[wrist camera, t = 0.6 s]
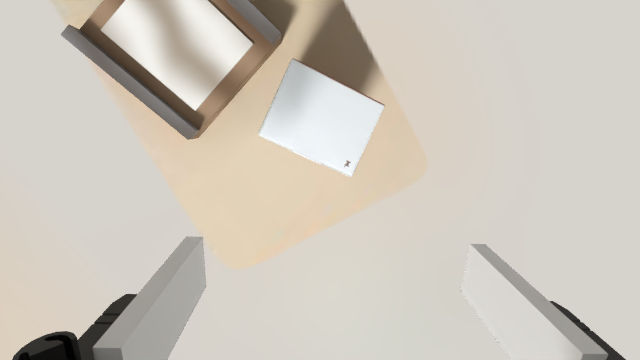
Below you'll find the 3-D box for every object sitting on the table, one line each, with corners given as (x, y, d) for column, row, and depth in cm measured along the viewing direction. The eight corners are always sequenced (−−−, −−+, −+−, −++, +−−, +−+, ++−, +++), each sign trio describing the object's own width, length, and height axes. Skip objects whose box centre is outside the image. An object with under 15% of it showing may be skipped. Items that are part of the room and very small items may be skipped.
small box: (350, 112, 36) (388, 105, 24) (327, 161, 37) (352, 180, 24) (287, 81, 35) (291, 55, 22) (264, 132, 36) (256, 136, 23)
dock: (175, -60, 31) (160, -87, 27) (280, 43, 34) (281, 32, 30) (87, 45, 32) (60, 34, 28) (198, 138, 35) (187, 139, 31)
